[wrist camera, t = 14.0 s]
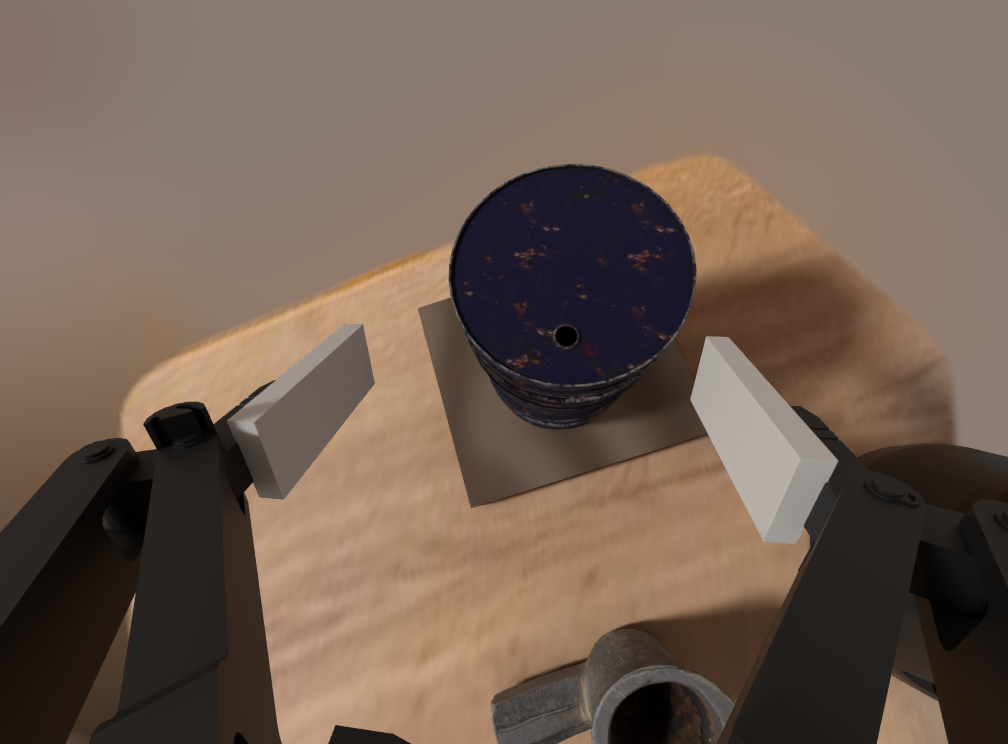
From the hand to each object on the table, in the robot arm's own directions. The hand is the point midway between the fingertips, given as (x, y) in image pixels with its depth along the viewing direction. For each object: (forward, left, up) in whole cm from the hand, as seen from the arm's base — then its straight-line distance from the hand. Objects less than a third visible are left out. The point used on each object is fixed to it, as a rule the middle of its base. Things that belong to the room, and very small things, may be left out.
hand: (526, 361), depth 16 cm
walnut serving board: (-3, -3, -16) cm, 16 cm away
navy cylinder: (-3, -3, -14) cm, 15 cm away
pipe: (+2, +18, -16) cm, 24 cm away
